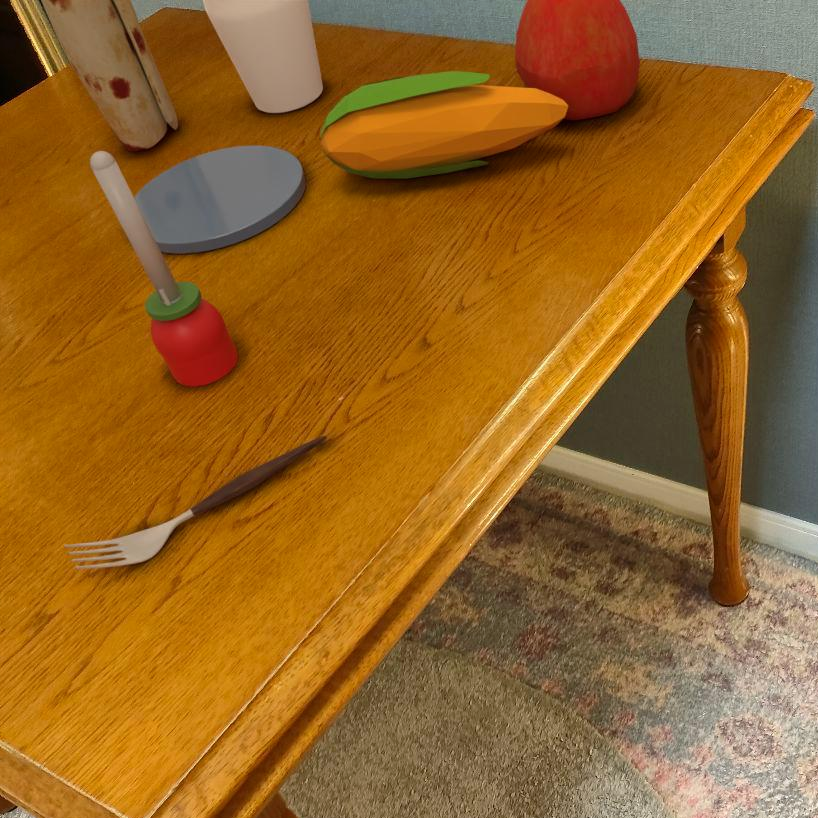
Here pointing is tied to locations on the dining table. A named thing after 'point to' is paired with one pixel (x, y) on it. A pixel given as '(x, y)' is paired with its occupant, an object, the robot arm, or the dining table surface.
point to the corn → (433, 124)
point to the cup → (270, 50)
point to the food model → (114, 67)
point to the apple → (579, 54)
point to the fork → (185, 515)
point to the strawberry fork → (169, 294)
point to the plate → (220, 197)
